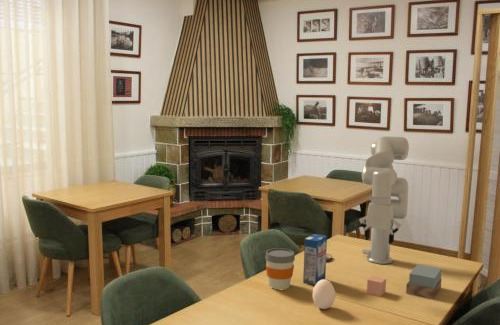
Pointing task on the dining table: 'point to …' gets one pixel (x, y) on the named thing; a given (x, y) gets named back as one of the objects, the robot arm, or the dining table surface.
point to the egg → (323, 294)
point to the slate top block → (425, 276)
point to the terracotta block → (376, 285)
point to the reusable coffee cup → (279, 267)
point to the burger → (328, 257)
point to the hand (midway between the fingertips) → (378, 241)
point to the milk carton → (314, 259)
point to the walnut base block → (423, 290)
